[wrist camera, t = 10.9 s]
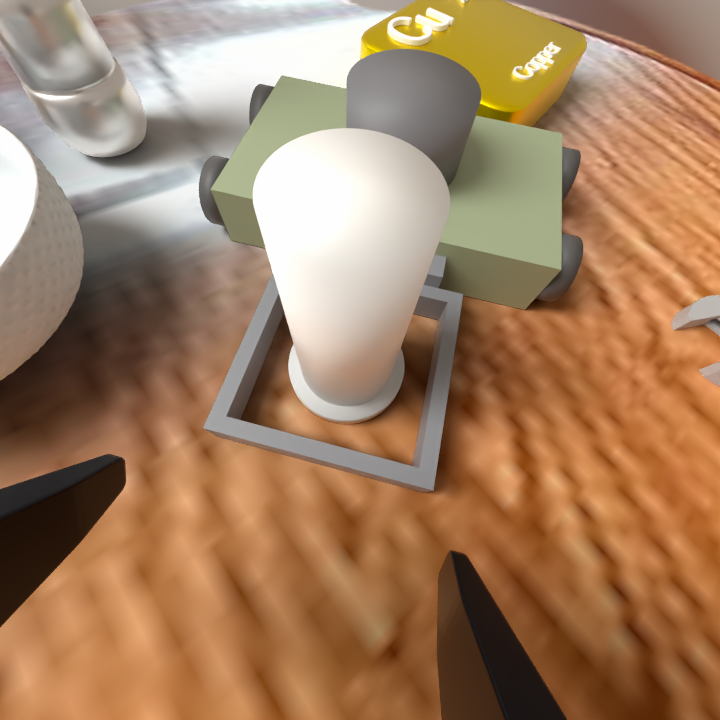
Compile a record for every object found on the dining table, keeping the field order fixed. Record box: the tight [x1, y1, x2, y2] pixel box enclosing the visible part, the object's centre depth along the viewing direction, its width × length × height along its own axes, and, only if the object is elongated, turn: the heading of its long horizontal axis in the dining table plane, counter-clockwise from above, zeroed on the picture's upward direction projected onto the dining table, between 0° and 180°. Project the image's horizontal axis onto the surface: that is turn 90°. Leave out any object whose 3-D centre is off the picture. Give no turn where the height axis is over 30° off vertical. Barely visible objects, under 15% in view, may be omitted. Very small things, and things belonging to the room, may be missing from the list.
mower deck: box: [199, 49, 583, 493], centre depth 19 cm, size 24×22×8 cm
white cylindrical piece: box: [253, 128, 450, 424], centre depth 14 cm, size 6×6×12 cm
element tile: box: [360, 0, 587, 127], centre depth 30 cm, size 15×15×5 cm
